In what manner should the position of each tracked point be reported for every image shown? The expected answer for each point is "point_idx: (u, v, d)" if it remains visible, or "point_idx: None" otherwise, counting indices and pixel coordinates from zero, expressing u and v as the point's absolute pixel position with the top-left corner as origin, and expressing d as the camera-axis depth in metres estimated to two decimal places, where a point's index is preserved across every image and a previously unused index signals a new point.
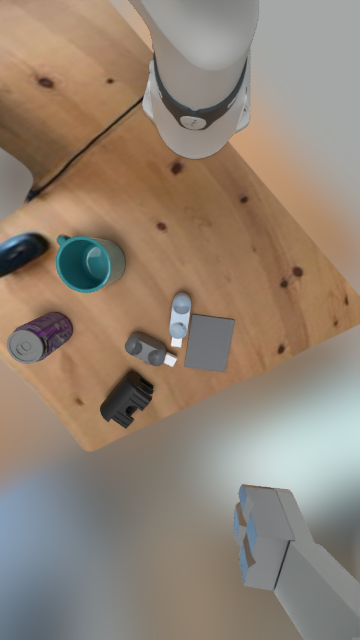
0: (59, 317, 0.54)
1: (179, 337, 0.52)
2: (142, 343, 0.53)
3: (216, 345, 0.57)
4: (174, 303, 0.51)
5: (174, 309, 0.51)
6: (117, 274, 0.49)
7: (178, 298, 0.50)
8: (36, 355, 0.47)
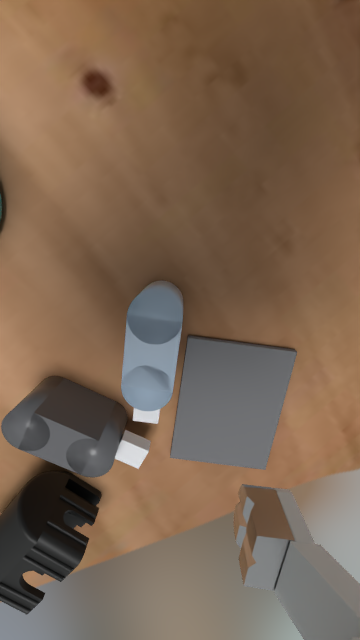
0: None
1: (150, 407, 0.18)
2: (48, 422, 0.19)
3: (247, 411, 0.23)
4: (132, 312, 0.17)
5: (132, 331, 0.17)
6: None
7: (144, 296, 0.16)
8: None
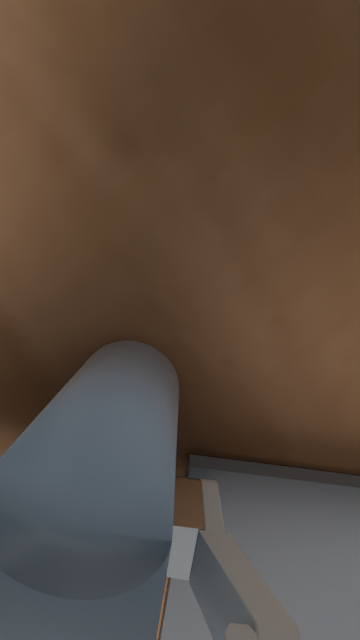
0: None
1: None
2: None
3: (314, 602, 0.11)
4: None
5: (0, 562, 0.05)
6: None
7: (26, 462, 0.04)
8: None
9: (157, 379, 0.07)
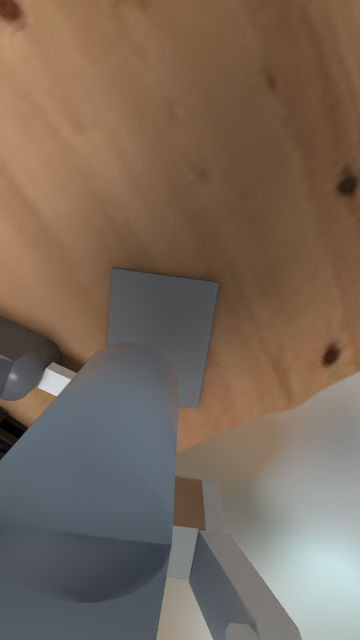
0: None
1: None
2: None
3: (176, 346, 0.24)
4: None
5: None
6: None
7: (26, 466, 0.04)
8: None
9: (157, 381, 0.07)
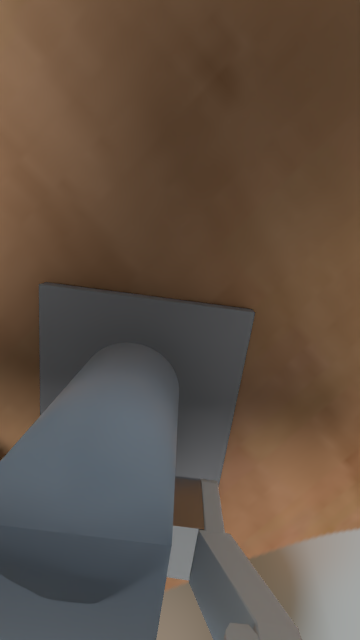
0: None
1: None
2: None
3: None
4: None
5: None
6: None
7: (26, 467, 0.04)
8: None
9: (157, 382, 0.07)
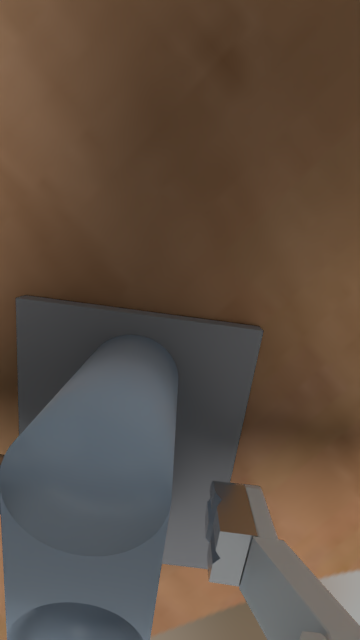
0: None
1: None
2: None
3: None
4: (15, 475, 0.05)
5: (23, 523, 0.06)
6: None
7: (47, 433, 0.05)
8: None
9: (158, 368, 0.08)
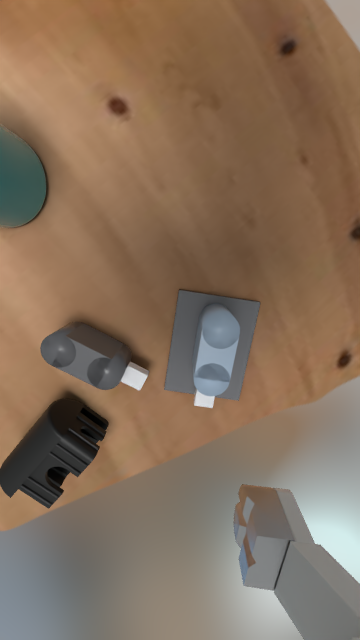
0: None
1: (213, 393, 0.26)
2: (75, 343, 0.26)
3: None
4: (206, 326, 0.25)
5: (205, 339, 0.25)
6: (12, 190, 0.22)
7: (215, 316, 0.24)
8: None
9: (229, 311, 0.27)
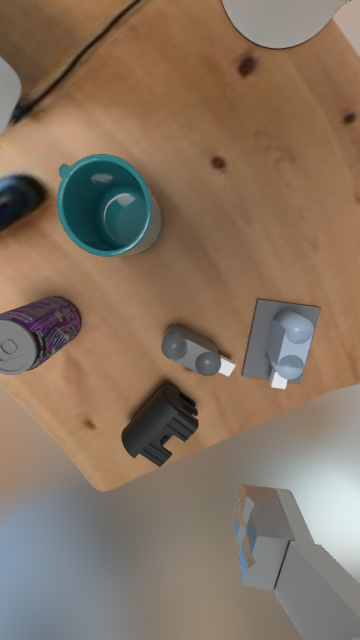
0: (62, 303, 0.36)
1: (290, 377, 0.35)
2: (188, 342, 0.35)
3: None
4: (288, 327, 0.33)
5: (287, 337, 0.34)
6: (154, 232, 0.31)
7: (295, 320, 0.33)
8: (24, 361, 0.29)
9: None
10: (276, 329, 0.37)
